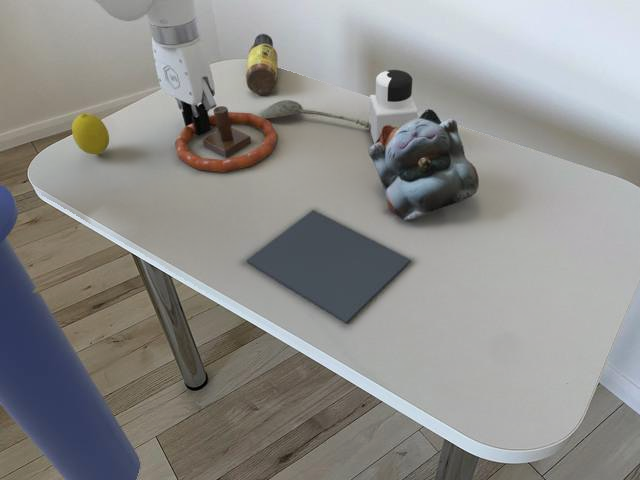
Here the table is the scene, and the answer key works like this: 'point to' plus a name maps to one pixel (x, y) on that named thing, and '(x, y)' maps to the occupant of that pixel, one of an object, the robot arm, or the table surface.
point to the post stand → (225, 135)
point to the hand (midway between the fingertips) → (198, 129)
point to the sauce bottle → (262, 66)
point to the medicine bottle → (391, 101)
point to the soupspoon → (295, 108)
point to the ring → (235, 161)
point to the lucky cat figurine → (423, 166)
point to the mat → (329, 264)
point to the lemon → (90, 134)
